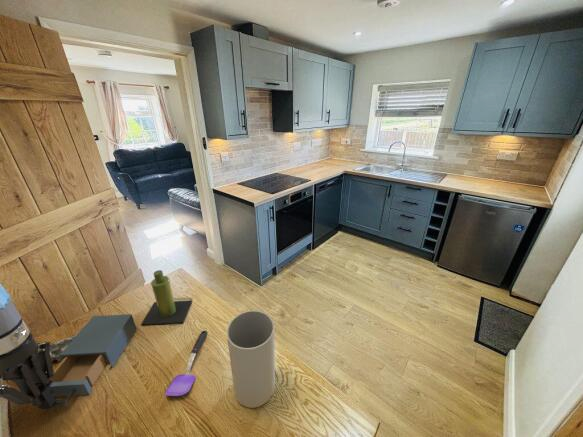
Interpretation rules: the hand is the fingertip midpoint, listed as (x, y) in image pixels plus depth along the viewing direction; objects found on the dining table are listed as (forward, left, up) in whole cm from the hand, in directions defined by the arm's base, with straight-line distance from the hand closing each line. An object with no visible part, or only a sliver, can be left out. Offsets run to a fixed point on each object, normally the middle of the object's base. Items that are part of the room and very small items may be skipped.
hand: (48, 405), depth 63 cm
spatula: (+32, +14, -6) cm, 36 cm away
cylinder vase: (+54, +4, -6) cm, 54 cm away
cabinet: (0, +21, -6) cm, 22 cm away
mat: (+16, +36, -6) cm, 40 cm away
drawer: (0, +10, -5) cm, 11 cm away
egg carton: (-13, +20, -6) cm, 25 cm away
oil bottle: (+16, +36, -5) cm, 40 cm away
